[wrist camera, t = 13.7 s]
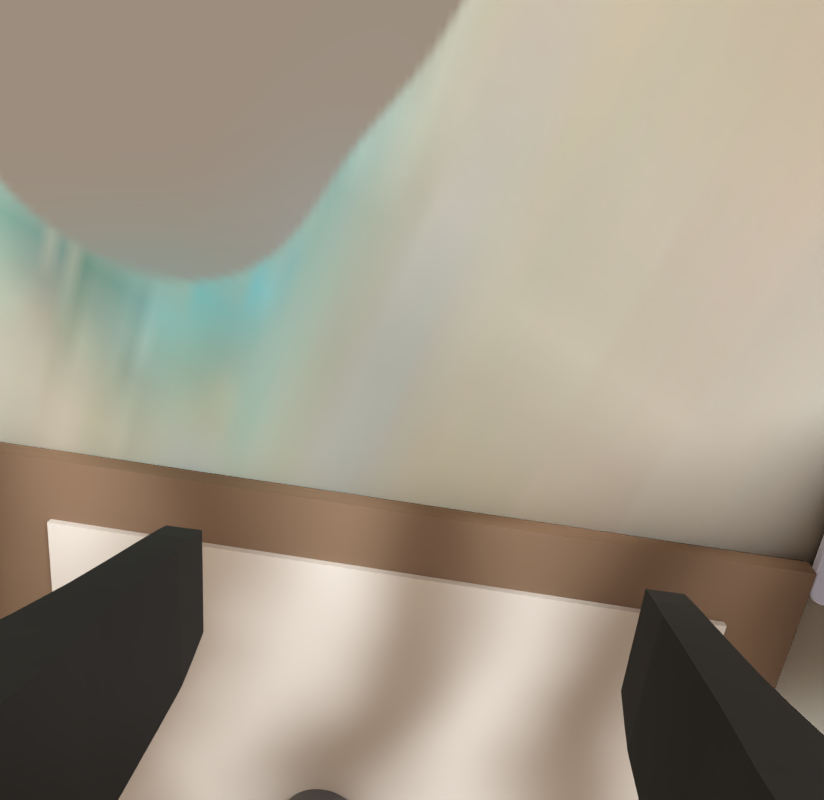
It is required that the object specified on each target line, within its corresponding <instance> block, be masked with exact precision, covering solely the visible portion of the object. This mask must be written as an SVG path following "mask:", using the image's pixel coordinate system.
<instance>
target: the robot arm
mask: <svg viewBox="0 0 824 800" xmlns="http://www.w3.org/2000/svg"><path fill="white" fill-rule="evenodd" d="M812 568H813V569H814V571H815V572H816V574H817V575H816V578H815V581H814V583H813V586H812V589H811V591H810V594H809V595H810V597H811V599H812V600H813V601H814V602H816V603H817V604H820V605H823V606H824V535H823V538H822V541H821V544H820V546H819V549H818V552H817V555H816V557H815V560H814V563H813V566H812ZM203 632H204V629H203V557H202V530H198V529H190V528H183V527H175V526H167V525H166V526H164V527H162V528H160V529H158V530H156V531H155V532H153V533H151V534H149V535H148V536H146V537H144V538H143V539H141V540H139V541H138V542H136V543H134V544H133V545H131V546H129V547H128V548H126V549H125V550H123V551H121V552H120V553H118V554H116V555H115V556H113V557H111V558H110V559H108V560H106V561H105V562H103V563H101V564H100V565H98V566H96V567H95V568H93V569H91V570H90V571H88V572H86V573H85V574H83V575H81V576H79V577H78V578H76V579H74V580H73V581H71V582H69V583H67V584H66V585H64V586H62V587H60V588H58V589H56V590H55V591H53V592H51V593H49V594H47V595H45V596H43V597H41V598H40V599H38V600H36V601H34V602H32V603H30V604H28V605H27V606H25V607H23V608H21V609H19V610H17V611H15V612H14V613H12V614H10V615H8V616H6V617H4V618H2V619H0V800H118V799H119V798H120V796H121V794H122V792H123V791H124V789H125V787H126V785H127V784H128V782H129V780H130V778H131V776H132V775H133V773H134V771H135V769H136V768H137V766H138V764H139V762H140V761H141V759H142V757H143V755H144V754H145V752H146V750H147V748H148V746H149V745H150V743H151V741H152V739H153V738H154V736H155V734H156V732H157V731H158V729H159V727H160V725H161V723H162V722H163V720H164V718H165V716H166V714H167V713H168V711H169V709H170V707H171V705H172V704H173V702H174V700H175V698H176V696H177V694H178V693H179V691H180V689H181V687H182V685H183V682H184V680H185V678H186V675H187V673H188V670H189V668H190V666H191V663H192V661H193V658H194V655H195V653H196V650H197V648H198V645H199V643H200V640H201V637H202V635H203ZM621 696H622V706H623V717H624V726H625V735H626V743H627V751H628V756H629V760H630V765H631V769H632V773H633V777H634V782H635V786H636V790H637V794H638V799H639V800H824V735H823V734H822V733H821V732H819V731H818V730H817V729H816V728H815V727H814V726H813V725H812V724H811V723H810V722H809V721H808V720H807V719H805V718H804V717H803V716H802V715H801V714H800V713H799V712H798V711H797V710H796V709H795V708H794V707H793V706H791V705H790V704H789V703H788V702H787V701H786V700H785V699H784V698H783V697H782V696H781V695H780V694H779V693H778V692H777V691H776V690H775V689H774V688H773V687H772V686H771V685H770V684H769V683H768V682H767V681H766V680H765V679H764V678H763V677H762V676H761V675H760V674H759V673H758V672H757V671H756V669H755V668H754V667H753V666H752V665H751V664H750V663H749V662H748V661H747V660H746V659H745V658H744V657H743V656H742V655H741V654H740V653H739V652H738V651H737V649H736V648H735V647H734V646H733V645H732V644H731V643H730V642H729V641H728V640H727V639H726V638H725V636H724V635H723V634H722V633H721V632H720V631H719V630H718V629H717V628H716V627H715V626H714V624H713V623H712V622H711V621H710V620H709V619H708V618H707V617H706V616H705V615H704V614H703V612H702V611H701V610H700V609H699V608H698V607H697V606H696V605H695V604H694V603H693V602H692V601H691V600H690V599H689V598H688V597H687V596H686V595H685V594H681V593H673V592H666V591H658V590H651V589H645V593H644V598H643V602H642V606H641V610H640V614H639V618H638V622H637V627H636V631H635V635H634V639H633V643H632V647H631V651H630V655H629V660H628V664H627V668H626V672H625V676H624V680H623V684H622V689H621Z"/></svg>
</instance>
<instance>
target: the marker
mask: <svg viewBox="0 0 824 800" xmlns="http://www.w3.org/2000/svg"><path fill="white" fill-rule="evenodd" d="M290 800H347V799H345V798H344V797H342V796H341V795H339V794H337V793H334V792H331V791H328V790H322V789H310V790H305V791H302V792H299V793H297V794H295V795H294V796H293V797H292V798H291V799H290Z"/></svg>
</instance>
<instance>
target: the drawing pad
mask: <svg viewBox="0 0 824 800" xmlns="http://www.w3.org/2000/svg"><path fill="white" fill-rule="evenodd" d="M166 525H167V526H175V527H183V528H190V529H198V530H202V557H203V629H204V632H203V635H202V637H201V640H200V643H199V645H198V648H197V650H196V653H195V655H194V658H193V661H192V663H191V666H190V668H189V670H188V673H187V675H186V678H185V680H184V682H183V685H182V687H181V689H180V691H179V693H178V694H177V696H176V698H175V700H174V702H173V704H172V705H171V707H170V709H169V711H168V713H167V714H166V716H165V718H164V720H163V722H162V723H161V725H160V727H159V729H158V731H157V732H156V734H155V736H154V738H153V739H152V741H151V743H150V745H149V746H148V748H147V750H146V752H145V754H144V755H143V757H142V759H141V761H140V762H139V764H138V766H137V768H136V769H135V771H134V773H133V775H132V776H131V778H130V780H129V782H128V784H127V785H126V787H125V789H124V791H123V792H122V794H121V796H120V798H119V799H118V800H290V799H291V798H292V797H293V796H294V795H295V794H297V793H299V792H302V791H305V790H310V789H322V790H328V791H331V792H334V793H337V794H339V795H341V796H342V797H344V798H345V799H347V800H639V799H638V794H637V790H636V786H635V782H634V777H633V773H632V769H631V765H630V760H629V756H628V751H627V743H626V735H625V726H624V717H623V706H622V696H621V689H622V684H623V680H624V676H625V672H626V668H627V664H628V660H629V655H630V651H631V647H632V643H633V639H634V635H635V631H636V627H637V622H638V618H639V614H640V610H641V606H642V602H643V598H644V593H645V589H651V590H658V591H666V592H673V593H681V594H685V595H686V596H687V597H688V598H689V599H690V600H691V601H692V602H693V603H694V604H695V605H696V606H697V607H698V608H699V609H700V610H701V611H702V612H703V614H704V615H705V616H706V617H707V618H708V619H709V620H710V621H711V622H712V623H713V624H714V626H715V627H716V628H717V629H718V630H719V631H720V632H721V633H722V634H723V635H724V636H725V638H726V639H727V640H728V641H729V642H730V643H731V644H732V645H733V646H734V647H735V648H736V649H737V651H738V652H739V653H740V654H741V655H742V656H743V657H744V658H745V659H746V660H747V661H748V662H749V663H750V664H751V665H752V666H753V667H754V668H755V669H756V671H757V672H758V673H759V674H760V675H761V676H762V677H763V678H764V679H765V680H766V681H767V682H768V683H769V684H770V685H771V686H772V687H773V688H774V689H775V686H776V684H777V681H778V678H779V676H780V673H781V670H782V667H783V665H784V662H785V659H786V657H787V654H788V651H789V648H790V646H791V643H792V640H793V638H794V635H795V632H796V629H797V627H798V624H799V621H800V619H801V616H802V613H803V610H804V608H805V605H806V602H807V600H808V597H809V594H810V591H811V589H812V586H813V583H814V581H815V578H816V575H817V574H816V572H815V571H814V569H813V568H812V566H811V565H810V563H809V562H804V561H798V560H791V559H784V558H777V557H771V556H764V555H757V554H751V553H744V552H737V551H730V550H724V549H717V548H710V547H703V546H697V545H690V544H683V543H676V542H670V541H663V540H656V539H650V538H643V537H636V536H629V535H623V534H616V533H609V532H602V531H596V530H589V529H582V528H575V527H569V526H562V525H555V524H548V523H542V522H535V521H528V520H522V519H515V518H508V517H501V516H495V515H488V514H481V513H474V512H468V511H461V510H454V509H447V508H441V507H434V506H427V505H420V504H414V503H407V502H400V501H394V500H387V499H380V498H373V497H367V496H360V495H353V494H346V493H340V492H333V491H326V490H319V489H313V488H306V487H299V486H292V485H286V484H279V483H272V482H266V481H259V480H252V479H245V478H239V477H232V476H225V475H218V474H212V473H205V472H198V471H191V470H185V469H178V468H171V467H164V466H158V465H151V464H144V463H138V462H131V461H124V460H117V459H111V458H104V457H97V456H90V455H84V454H77V453H70V452H63V451H57V450H50V449H43V448H36V447H30V446H23V445H16V444H10V443H3V442H0V619H2V618H4V617H6V616H8V615H10V614H12V613H14V612H15V611H17V610H19V609H21V608H23V607H25V606H27V605H28V604H30V603H32V602H34V601H36V600H38V599H40V598H41V597H43V596H45V595H47V594H49V593H51V592H53V591H55V590H56V589H58V588H60V587H62V586H64V585H66V584H67V583H69V582H71V581H73V580H74V579H76V578H78V577H79V576H81V575H83V574H85V573H86V572H88V571H90V570H91V569H93V568H95V567H96V566H98V565H100V564H101V563H103V562H105V561H106V560H108V559H110V558H111V557H113V556H115V555H116V554H118V553H120V552H121V551H123V550H125V549H126V548H128V547H129V546H131V545H133V544H134V543H136V542H138V541H139V540H141V539H143V538H144V537H146V536H148V535H149V534H151V533H153V532H155V531H156V530H158V529H160V528H162V527H164V526H166Z"/></svg>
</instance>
